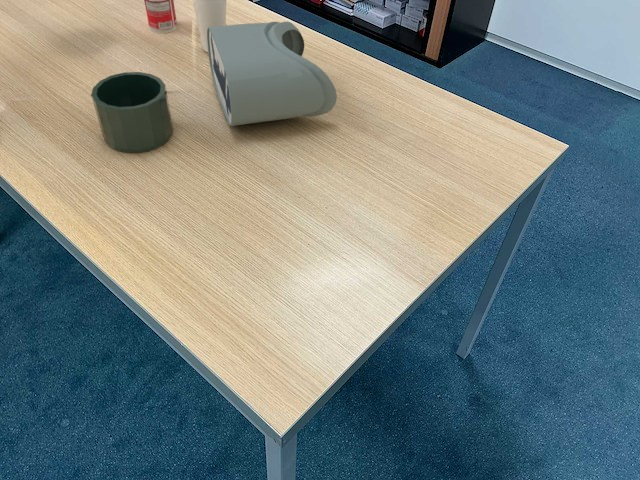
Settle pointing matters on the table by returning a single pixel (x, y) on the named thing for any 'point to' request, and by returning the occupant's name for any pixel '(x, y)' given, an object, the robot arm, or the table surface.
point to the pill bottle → (161, 15)
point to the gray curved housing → (266, 73)
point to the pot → (133, 111)
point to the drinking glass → (209, 17)
